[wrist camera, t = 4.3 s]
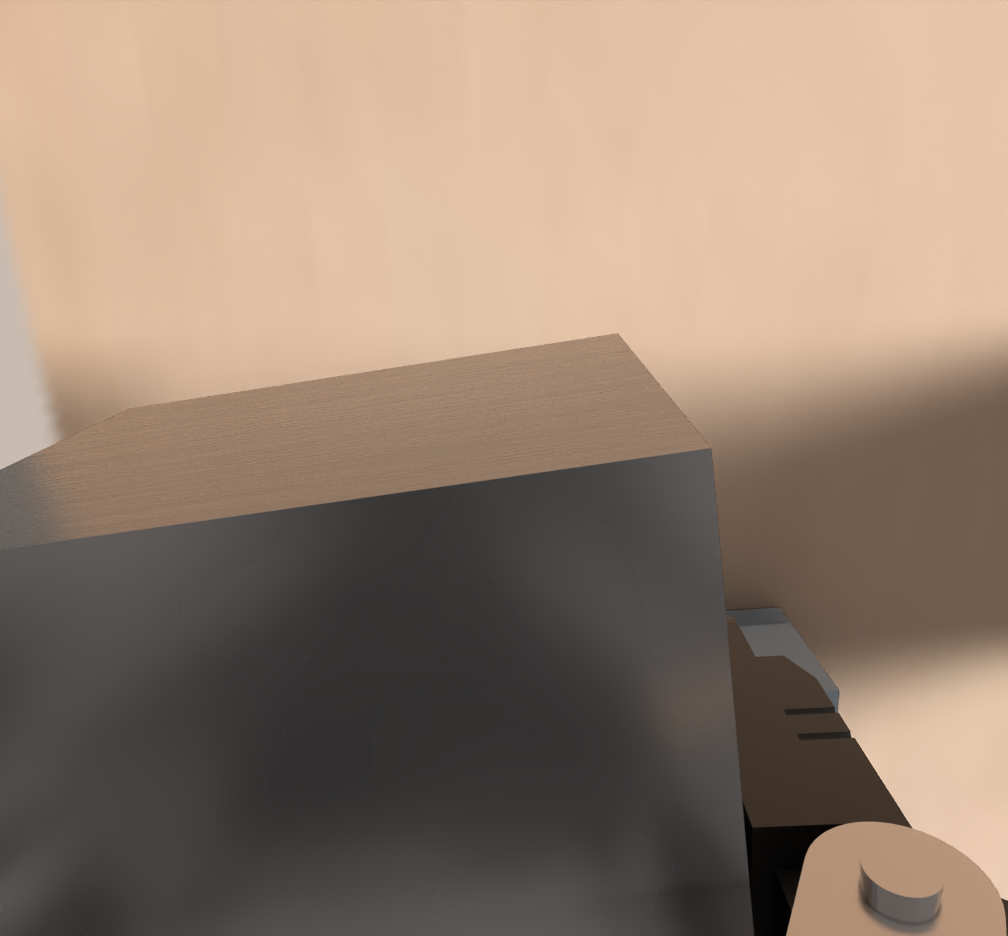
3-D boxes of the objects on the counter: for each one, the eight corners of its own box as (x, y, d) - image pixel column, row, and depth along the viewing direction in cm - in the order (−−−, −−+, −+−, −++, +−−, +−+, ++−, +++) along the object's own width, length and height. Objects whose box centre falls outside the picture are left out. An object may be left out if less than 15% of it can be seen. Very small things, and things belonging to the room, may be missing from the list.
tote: (780, 607, 24) (839, 690, 20) (767, 978, 29) (813, 1111, 24) (300, 636, 25) (258, 724, 20) (358, 999, 29) (333, 1135, 25)
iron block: (618, 333, 9) (710, 447, 5) (682, 879, 12) (789, 1332, 7) (129, 409, 10) (-243, 584, 5) (282, 922, 12) (125, 1374, 7)
